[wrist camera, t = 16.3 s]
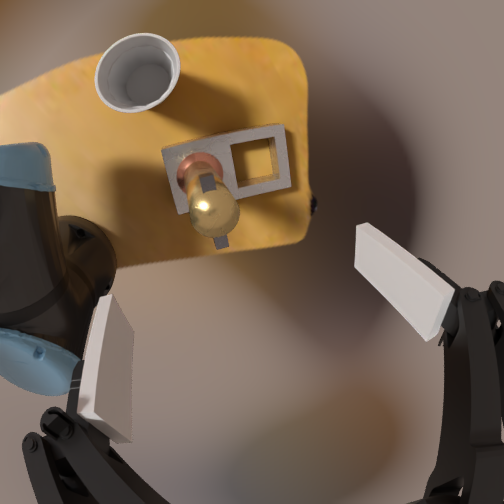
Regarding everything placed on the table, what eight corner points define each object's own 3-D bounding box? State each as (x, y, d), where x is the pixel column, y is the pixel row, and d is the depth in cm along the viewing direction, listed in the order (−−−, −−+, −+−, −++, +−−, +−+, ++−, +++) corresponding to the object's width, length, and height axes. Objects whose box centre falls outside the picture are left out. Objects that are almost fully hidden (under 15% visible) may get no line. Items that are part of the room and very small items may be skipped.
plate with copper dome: (177, 207, 38) (178, 215, 35) (162, 147, 33) (161, 150, 30) (283, 181, 40) (291, 187, 38) (275, 123, 36) (284, 124, 33)
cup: (189, 92, 31) (196, 81, 20) (137, 125, 31) (120, 129, 21) (161, 47, 26) (156, 18, 16) (109, 80, 26) (81, 67, 16)
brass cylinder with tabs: (178, 156, 31) (180, 183, 20) (210, 148, 32) (232, 170, 20) (190, 203, 35) (200, 255, 23) (219, 195, 35) (245, 242, 24)
